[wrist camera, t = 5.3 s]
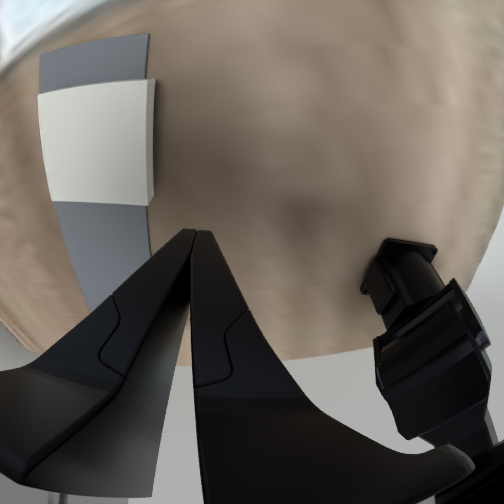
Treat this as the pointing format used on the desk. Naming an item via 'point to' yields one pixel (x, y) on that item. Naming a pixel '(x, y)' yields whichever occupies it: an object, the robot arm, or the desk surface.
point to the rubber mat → (100, 214)
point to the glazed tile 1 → (99, 141)
